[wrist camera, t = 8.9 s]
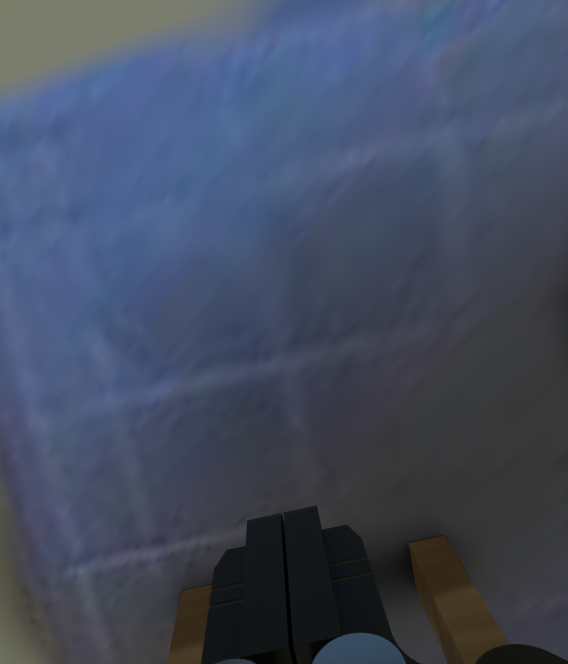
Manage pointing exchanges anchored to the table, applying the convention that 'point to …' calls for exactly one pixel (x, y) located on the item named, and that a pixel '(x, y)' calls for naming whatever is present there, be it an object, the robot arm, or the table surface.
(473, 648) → the bridge
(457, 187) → the table surface
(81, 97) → the table surface
